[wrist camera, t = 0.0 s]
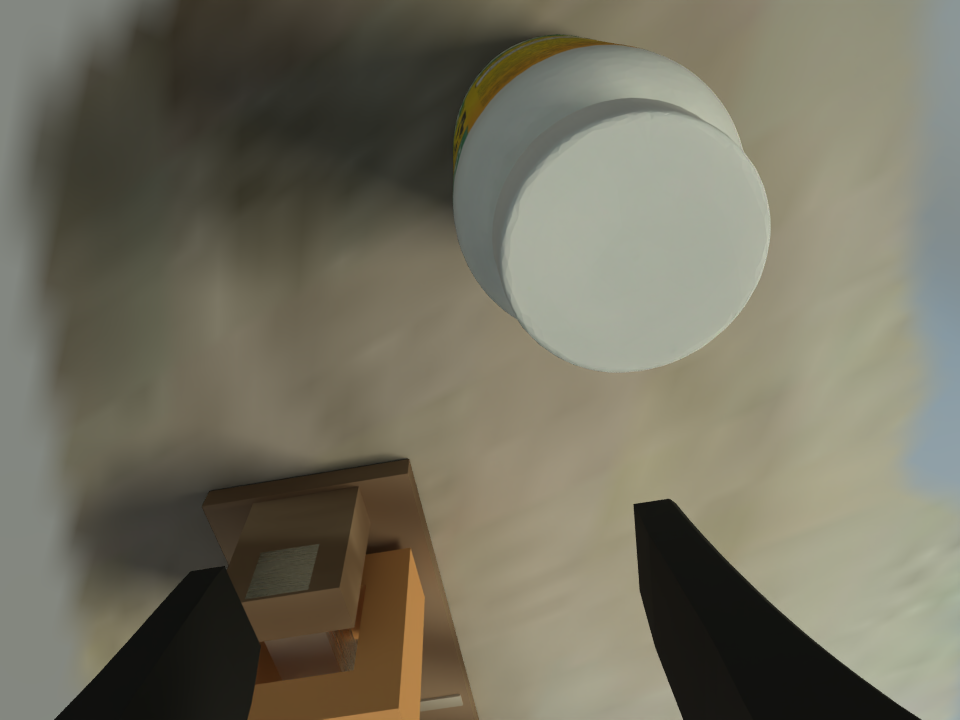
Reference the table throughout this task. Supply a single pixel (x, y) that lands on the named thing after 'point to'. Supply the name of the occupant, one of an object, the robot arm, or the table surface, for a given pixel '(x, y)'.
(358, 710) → the collar
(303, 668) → the rod
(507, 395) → the table surface
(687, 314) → the supplement bottle
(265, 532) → the stand
